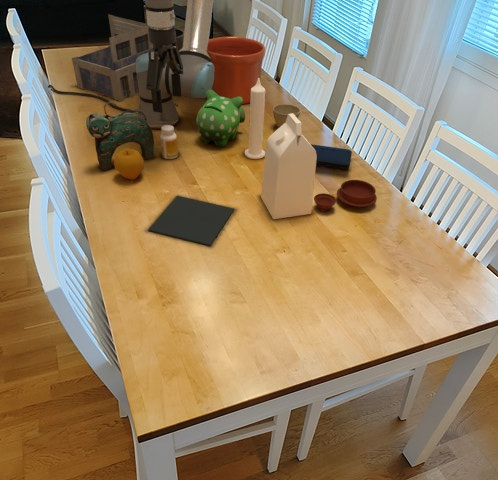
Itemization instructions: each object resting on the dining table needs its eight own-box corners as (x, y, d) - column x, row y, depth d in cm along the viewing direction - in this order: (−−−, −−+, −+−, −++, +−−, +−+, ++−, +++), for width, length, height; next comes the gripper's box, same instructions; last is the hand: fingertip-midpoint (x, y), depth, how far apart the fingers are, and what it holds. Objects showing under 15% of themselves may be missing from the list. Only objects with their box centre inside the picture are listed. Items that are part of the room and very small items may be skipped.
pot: (274, 98, 191) (278, 49, 178) (225, 111, 180) (225, 60, 167) (239, 80, 205) (240, 33, 192) (191, 91, 194) (189, 42, 181)
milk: (311, 213, 131) (324, 126, 113) (273, 219, 128) (281, 130, 110) (296, 191, 139) (307, 107, 121) (260, 196, 137) (265, 110, 119)
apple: (120, 168, 145) (115, 142, 139) (148, 170, 145) (145, 143, 139) (113, 183, 139) (108, 156, 132) (142, 185, 139) (138, 158, 132)
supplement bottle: (181, 154, 154) (179, 126, 147) (172, 161, 150) (170, 132, 143) (167, 150, 155) (164, 122, 149) (158, 157, 152) (155, 129, 145)
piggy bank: (249, 134, 166) (251, 92, 156) (224, 154, 155) (224, 110, 144) (216, 125, 171) (215, 83, 161) (189, 143, 159) (187, 100, 149)
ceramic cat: (98, 173, 142) (85, 110, 129) (92, 164, 146) (78, 102, 133) (157, 159, 151) (151, 98, 137) (150, 151, 154) (142, 90, 141)
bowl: (296, 135, 167) (298, 116, 162) (269, 132, 168) (271, 112, 163) (299, 124, 174) (302, 105, 169) (274, 120, 176) (275, 102, 171)
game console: (350, 158, 156) (356, 132, 150) (347, 177, 147) (352, 150, 140) (305, 151, 159) (309, 125, 152) (299, 169, 149) (302, 143, 143)
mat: (148, 231, 122) (147, 229, 122) (177, 196, 135) (177, 195, 134) (210, 246, 118) (210, 244, 118) (234, 209, 131) (234, 208, 131)
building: (120, 101, 183) (110, 38, 167) (78, 87, 192) (64, 26, 176) (158, 84, 198) (152, 24, 182) (117, 72, 207) (108, 14, 191)
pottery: (382, 208, 134) (386, 195, 131) (324, 221, 128) (326, 208, 125) (361, 188, 142) (364, 175, 139) (304, 199, 136) (306, 187, 133)
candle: (267, 151, 157) (273, 76, 140) (261, 160, 152) (266, 83, 135) (248, 147, 159) (251, 72, 141) (241, 156, 154) (243, 80, 137)
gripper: (153, 40, 117) (160, 121, 131) (191, 18, 134) (194, 91, 149) (126, 36, 118) (137, 116, 133) (168, 15, 136) (173, 88, 150)
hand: (167, 103), depth 141 cm, fingers open, 13 cm apart
